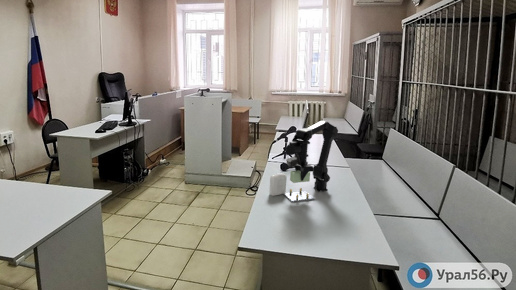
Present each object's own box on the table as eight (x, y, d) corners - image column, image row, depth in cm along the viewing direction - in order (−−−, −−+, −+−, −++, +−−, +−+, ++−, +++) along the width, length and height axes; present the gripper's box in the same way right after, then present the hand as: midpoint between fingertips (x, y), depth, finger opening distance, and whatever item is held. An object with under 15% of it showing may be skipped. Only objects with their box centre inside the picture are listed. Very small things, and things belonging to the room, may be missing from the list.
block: (305, 178, 189) (306, 169, 188) (309, 181, 185) (310, 172, 184) (289, 180, 186) (290, 170, 185) (293, 182, 182) (294, 173, 181)
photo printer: (282, 191, 196) (283, 171, 193) (286, 193, 193) (288, 173, 190) (268, 194, 191) (269, 173, 188) (272, 196, 187) (273, 176, 184)
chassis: (305, 192, 195) (305, 187, 194) (314, 199, 185) (314, 193, 184) (283, 194, 190) (283, 189, 189) (291, 202, 180) (292, 196, 179)
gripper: (281, 148, 187) (280, 174, 191) (296, 157, 170) (294, 186, 174) (299, 147, 191) (297, 173, 195) (315, 156, 174) (312, 184, 178)
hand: (299, 179), depth 185 cm, fingers closed on block, 4 cm apart
